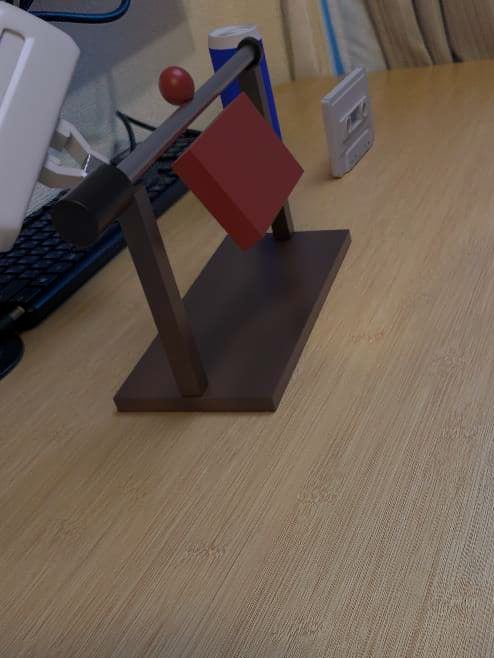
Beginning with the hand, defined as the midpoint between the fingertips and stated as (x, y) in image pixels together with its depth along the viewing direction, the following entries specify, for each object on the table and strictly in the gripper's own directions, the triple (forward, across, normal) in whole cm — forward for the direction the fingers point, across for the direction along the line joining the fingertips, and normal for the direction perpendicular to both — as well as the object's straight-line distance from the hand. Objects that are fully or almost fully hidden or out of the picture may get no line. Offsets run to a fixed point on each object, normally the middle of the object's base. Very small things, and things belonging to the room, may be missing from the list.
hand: (104, 180), depth 68 cm
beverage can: (+17, -15, -7) cm, 24 cm away
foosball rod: (+9, +8, +14) cm, 18 cm away
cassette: (+25, -23, -4) cm, 34 cm away
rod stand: (+13, +9, +5) cm, 16 cm away
